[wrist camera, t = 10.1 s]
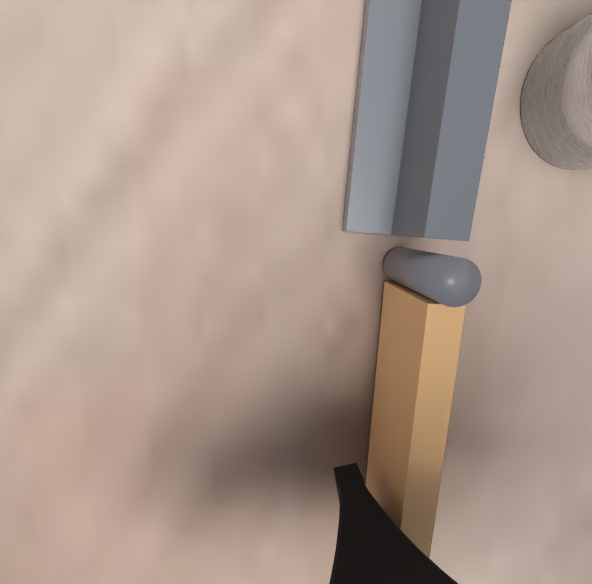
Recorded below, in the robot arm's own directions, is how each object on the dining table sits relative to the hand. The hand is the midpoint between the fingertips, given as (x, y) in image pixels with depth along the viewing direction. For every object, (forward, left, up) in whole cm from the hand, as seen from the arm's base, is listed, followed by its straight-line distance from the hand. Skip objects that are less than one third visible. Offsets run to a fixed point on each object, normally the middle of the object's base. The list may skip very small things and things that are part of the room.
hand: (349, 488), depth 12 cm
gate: (-1, -2, -1) cm, 3 cm away
